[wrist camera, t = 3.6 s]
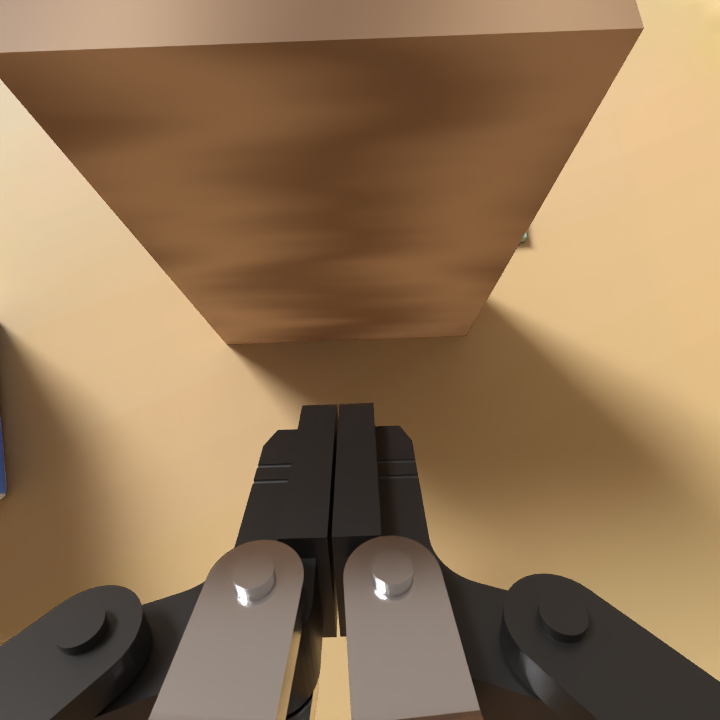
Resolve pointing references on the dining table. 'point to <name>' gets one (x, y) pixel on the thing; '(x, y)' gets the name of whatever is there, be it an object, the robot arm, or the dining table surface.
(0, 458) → the medicine box
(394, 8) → the wooden block
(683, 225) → the dining table surface
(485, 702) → the robot arm
